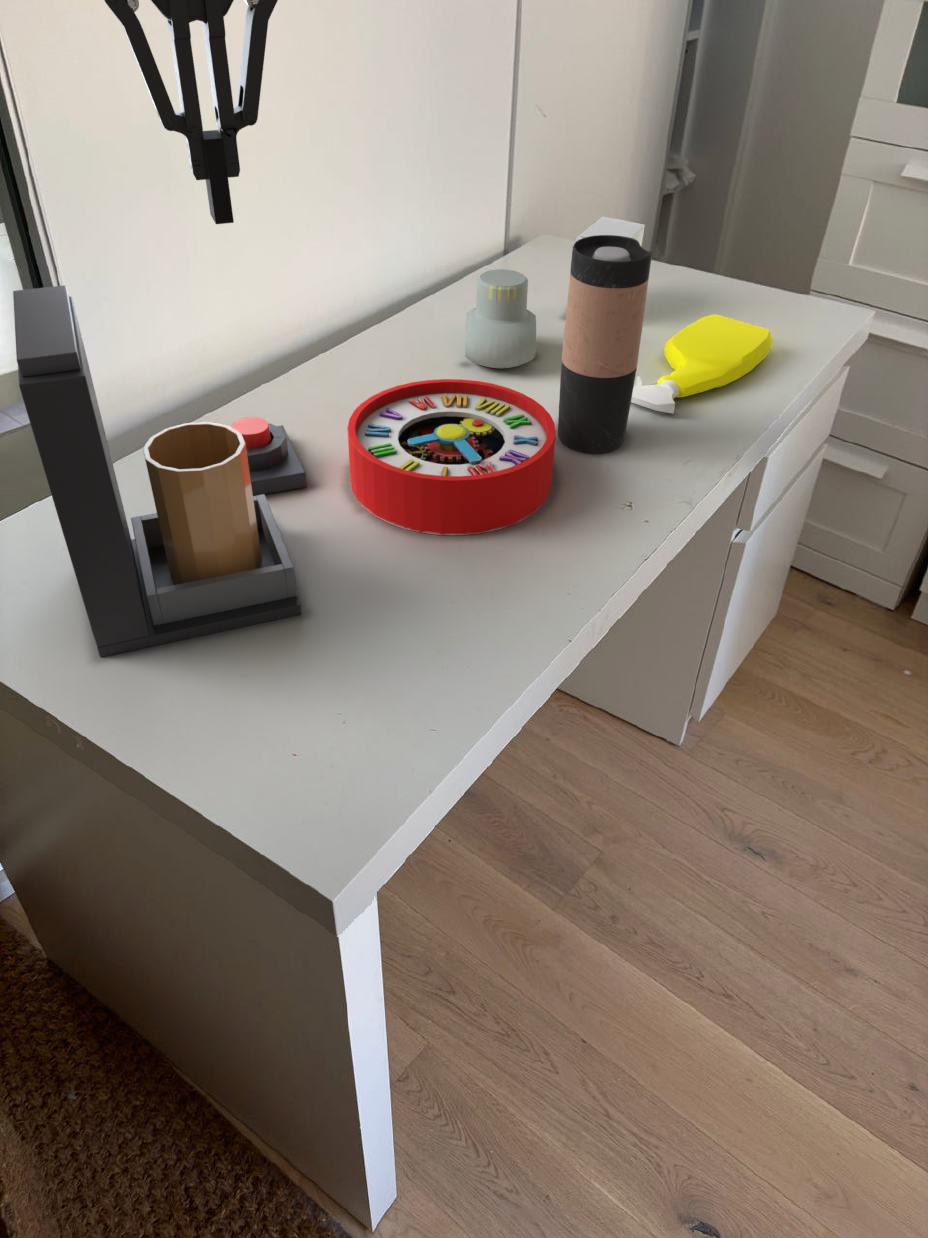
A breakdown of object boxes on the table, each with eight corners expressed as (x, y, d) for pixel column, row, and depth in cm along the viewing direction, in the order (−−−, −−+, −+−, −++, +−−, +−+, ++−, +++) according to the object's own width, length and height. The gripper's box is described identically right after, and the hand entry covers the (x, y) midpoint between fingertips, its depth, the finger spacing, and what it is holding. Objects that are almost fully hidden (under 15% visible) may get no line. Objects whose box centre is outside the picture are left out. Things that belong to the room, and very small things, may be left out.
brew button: (274, 447, 94) (272, 431, 93) (237, 453, 93) (235, 437, 92) (266, 430, 97) (264, 414, 96) (230, 435, 96) (228, 419, 95)
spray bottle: (778, 354, 120) (683, 430, 106) (699, 330, 125) (598, 400, 111) (783, 331, 118) (687, 406, 104) (703, 308, 124) (601, 376, 109)
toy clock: (497, 365, 103) (595, 453, 89) (495, 415, 107) (588, 506, 93) (318, 399, 96) (394, 500, 82) (323, 451, 100) (396, 555, 86)
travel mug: (545, 446, 102) (561, 254, 89) (567, 414, 107) (585, 229, 94) (615, 461, 100) (642, 267, 87) (634, 428, 105) (661, 241, 92)
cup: (177, 605, 79) (149, 479, 71) (165, 552, 84) (138, 429, 77) (270, 587, 81) (253, 462, 73) (252, 536, 86) (234, 415, 79)
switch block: (306, 487, 95) (303, 455, 92) (224, 501, 92) (219, 469, 90) (284, 439, 102) (281, 409, 100) (207, 451, 100) (202, 420, 97)
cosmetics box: (611, 328, 126) (621, 246, 119) (565, 318, 128) (572, 237, 121) (635, 300, 133) (646, 222, 126) (591, 292, 135) (600, 214, 128)
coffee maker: (301, 614, 80) (269, 333, 64) (99, 657, 75) (13, 366, 60) (266, 523, 90) (231, 262, 74) (86, 557, 85) (9, 285, 70)
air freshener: (534, 379, 114) (540, 296, 107) (464, 377, 114) (466, 294, 107) (531, 341, 122) (536, 261, 116) (466, 339, 122) (468, 259, 116)
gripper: (78, -135, 62) (148, 240, 77) (279, -133, 66) (308, 224, 81) (71, -140, 67) (137, 212, 82) (257, -138, 71) (288, 198, 86)
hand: (222, 218), depth 82 cm, fingers closed
